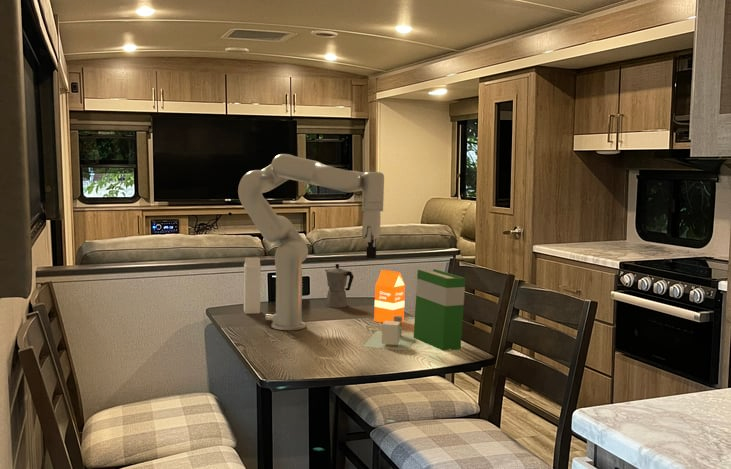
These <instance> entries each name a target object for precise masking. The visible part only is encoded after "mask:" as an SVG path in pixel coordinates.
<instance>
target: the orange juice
mask: <svg viewBox="0 0 731 469" xmlns="http://www.w3.org/2000/svg"><path fill="white" fill-rule="evenodd" d="M405 291H406V284H405V281H404V279H403V277H402V274H401V272H400V271H394V270H386V269H381V271H380V273H379V276H378V278H377V280H376V283H375V286H374V315H373V317H374V322H378V323H382V324H383V323H384V321H394V316H395V315H396V316H402V322H403V323H404V322H405V321H404V319H405V303H406V302H405V301H406V300H405V294H406V293H405Z"/></svg>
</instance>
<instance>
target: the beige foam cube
mask: <svg viewBox="0 0 731 469" xmlns="http://www.w3.org/2000/svg"><path fill="white" fill-rule="evenodd" d="M381 326H382V327H381V332H382V344H392V345H397V344H398V343H399V341H400V322H396V321H384V323H383V322H382V325H381Z"/></svg>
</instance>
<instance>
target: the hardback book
mask: <svg viewBox="0 0 731 469" xmlns="http://www.w3.org/2000/svg"><path fill="white" fill-rule="evenodd" d="M465 287H466V277H462V276H459V275H458V274H457V275H456V274H452V273H450V272H446V271H443V270H439V269H433V270H432V271H426V270H425V271H424V270H421V269H417V274H416V294H415V307H414V308H415V309H414V322H413V323H414V324H413V325H414V326H413V334H414V338H415V339H416V340H417V341H421V342H423V343H425V344H428V345H430V346H431V347H433V348H436V349H437V350H441V351H449V350H451V351H453V350H454V351H455V350H456V351H457V350H461V348H462V337H463V336H462V334H463V332H462V331H463V320H464V308H465V307H464V306H465V305H464V304H465V293H466V292H465V291H466V288H465Z"/></svg>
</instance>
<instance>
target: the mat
mask: <svg viewBox="0 0 731 469" xmlns="http://www.w3.org/2000/svg"><path fill="white" fill-rule="evenodd" d="M415 339H416V338H414V333H403V332H402V335H401V337H400V341H399V343H398V344H397V345H395V346H394V347H393V346H386V344H382V330H381V331H380V330H379V331H378V330H376V331H375V332H374V333H373V334H372V335H371V337H369V339H368V340H367V341H366V342H365V344H364V345H363V346H362V347H363V348H373V349H375V348H376V349H387V350H396V351H397V350H398V351H409V349H410V347H411V346H412V344H413V343H414V341H415Z"/></svg>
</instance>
